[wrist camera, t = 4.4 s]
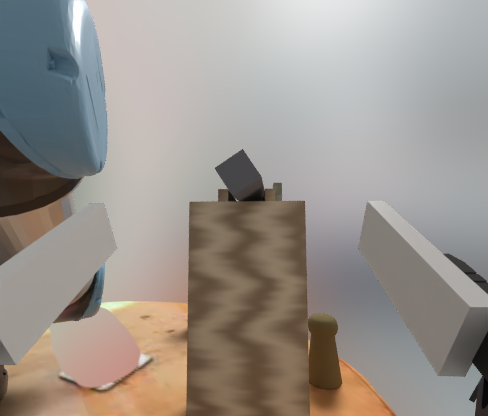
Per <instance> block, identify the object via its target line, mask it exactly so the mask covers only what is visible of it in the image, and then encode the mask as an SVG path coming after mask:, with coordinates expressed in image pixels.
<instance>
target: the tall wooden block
mask: <svg viewBox="0 0 488 416" xmlns="http://www.w3.org/2000/svg"><path fill="white" fill-rule="evenodd" d="M218 194H219V195H218V202H190V210H189V212H190V213H189V275H188V341H187V408H186V416H310V402H309V358H308V318H307V317H308V316H307V273H306V272H307V271H306V227H305V201H282V183H274V184H273V189H265V192H264V197H263V201H238V202H237V201H236V200H235V198H234V197H233V196H232V194H231V193H230V191H229V190H228V189H219V190H218Z"/></svg>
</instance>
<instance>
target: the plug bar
mask: <svg viewBox="0 0 488 416" xmlns="http://www.w3.org/2000/svg"><path fill="white" fill-rule="evenodd" d="M215 169H216V171H217V173H218V174H219V176H220V177H221V179H222V180H223V182H224V183H225V185H226V186H227V188H228V189H229V191H230V193H231V194H232V196H233V197H235V198H236V199H237V200H239V201H263V197H264V192H265V191H264V187H263V183H262V177H261V175H260V174H259V172H258V171H257V170H256V168H255V167H254V165H253V164H252V162H251V161H250V159H249V158H248V156H247V155H246V153H245V152H244V150H243V149H242V150H241V151H239V152H238V153H236V154H235V155H233V156H232V157H230V158H229V159H227V160H226V161H225V162H223V163H222V164H220V165H219V166H217V167H216V168H215Z"/></svg>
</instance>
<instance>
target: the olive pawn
mask: <svg viewBox="0 0 488 416" xmlns="http://www.w3.org/2000/svg"><path fill="white" fill-rule="evenodd" d="M308 328H309V331H310V332H311V340H310V350H309V382H310V383H311V384H313V385H314V386H316V387H319V388H323V389H335V388H338V387H340V386H341V384H342V379H341V373H340V367H339V360H338V354H337V348H336V342H335V335H336V333H337V330H338V325H337V322H336V320H335V318H333V317H332V316H330V315H327V314H321V313H319V314H313V315H311V316H310V318H309V319H308Z"/></svg>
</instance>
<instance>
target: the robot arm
mask: <svg viewBox="0 0 488 416" xmlns="http://www.w3.org/2000/svg"><path fill="white" fill-rule="evenodd" d="M106 154H107V112H106V103H105V84H104V75H103V67H102V60H101V54H100V48H99V43H98V38H97V33H96V29H95V25H94V21H93V18H92V15H91V12H90V10H89V8H88V5H87V3H86V1H85V0H0V400H1V399H2V398H3V397H4V396H5V394H6V392H7V386H8V373H7V371H6V369H4V365H17V364H18V363H19V361H20V360H21V359H22V358H23V357H24V356H25V355H26V353H27V352H28V351H29V350H30V349H31V348H32V346H33V345H34V344H35V343H36V342H37V341H38V339H39V338H40V337H41V336H42V335H43V334H44V332H45V331H46V330H47V329H48V328H49V327H50V325H51V324H52V323H57V322H65V321H79V320H81V319H84V318H89V317H92V316H94V315H95V314H96V313H97V312H98V310H99V308H100V305H101V298H102V297H101V296H102V293H103V287H104V273H105V272H104V271H105V262H106V260H107V259H108V258H109V257H110V256H111V255H112V254H113V252H114V251H115V250H116V249H117V247H116V243H115V240H114V236H113V232H112V229H111V226H110V222H109V218H108V215H107V212H106V208H105V204H104V203H89V204H88V205H86V206H85V207H83V208H82V209H81V210H79V211H78V212H76V209H75V203H74V196H73V191H74V189H76V188H77V187H78V185H79V184H80V183H81V181H82V180H83V178H84V176H92V175H95V174H96V173H99V172H100V171H101V170H102V169H103V167H104V164H105V161H106ZM358 249H359V251H360V252H361V254H362V256H363V257H364V258H365V260H366V262H367V263H368V265H369V267H370V268H371V270H372V271H373V273H374V274H375V276H376V278H377V279H378V281H379V283H380V284H381V286H382V287H383V289H384V291H385V292H386V293H387V295H388V297H389V298H390V300H391V302H392V303H393V305H394V306H395V308H396V310H397V311H398V313H399V314H400V316H401V318H402V319H403V321H404V322H405V324H406V326H407V327H408V329H409V330H410V332H411V333H412V335H413V337H414V338H415V340H416V341H417V343H418V345H419V346H420V348H421V349H422V351H423V353H424V354H425V356H426V357H427V359H428V360H429V362H430V364H431V365H432V367H433V368H434V370H435V372H436V373H437V375H438V376H462V377H463V376H464V377H465V376H466V374H467V372H468V370H469V368H470V366H471V365H472V363H473V364H474V365H475V366H476V368H477V369H478V370H479V371H480V373H481V374H482V375H483V376H482V378H481V380H480V381H479V383H478V385H477V386H476V388H475V390H474V391H473V393H472V395H471V397H470V399H469V400H471V401H472V402H475V400H476V398H477V401H476V411H475V416H488V283H487V282H486V280H485V279H484V278H482V277H481V276H480V275H478V274H476V272H475V271H474V270H473V269H472V268H471V267H469V266H468V265H467V264H466V263H465V262H463V261H461V260H459V259H457V258H455V257H454V256H452V255H450V254H442V253H441V252H440V251H439V250H438V249H437V248H436V247H434V246H433V245H432V244H431V243H430V242H429V241H428V240H427V239H426V238H424V237H423V236H422V235H421V234H420V233H419V232H418V231H417V230H416V229H414V228H413V227H412V226H411V225H410V224H409V223H408V222H407V221H405V220H404V219H403V218H402V217H401V216H400V215H399V214H398V213H397V212H395V211H394V210H393V209H392V208H391V207H390V206H389V205H388V204H386V203H385V202H384V201H367V205H366V210H365V216H364V221H363V226H362V232H361V237H360V242H359V247H358Z"/></svg>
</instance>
